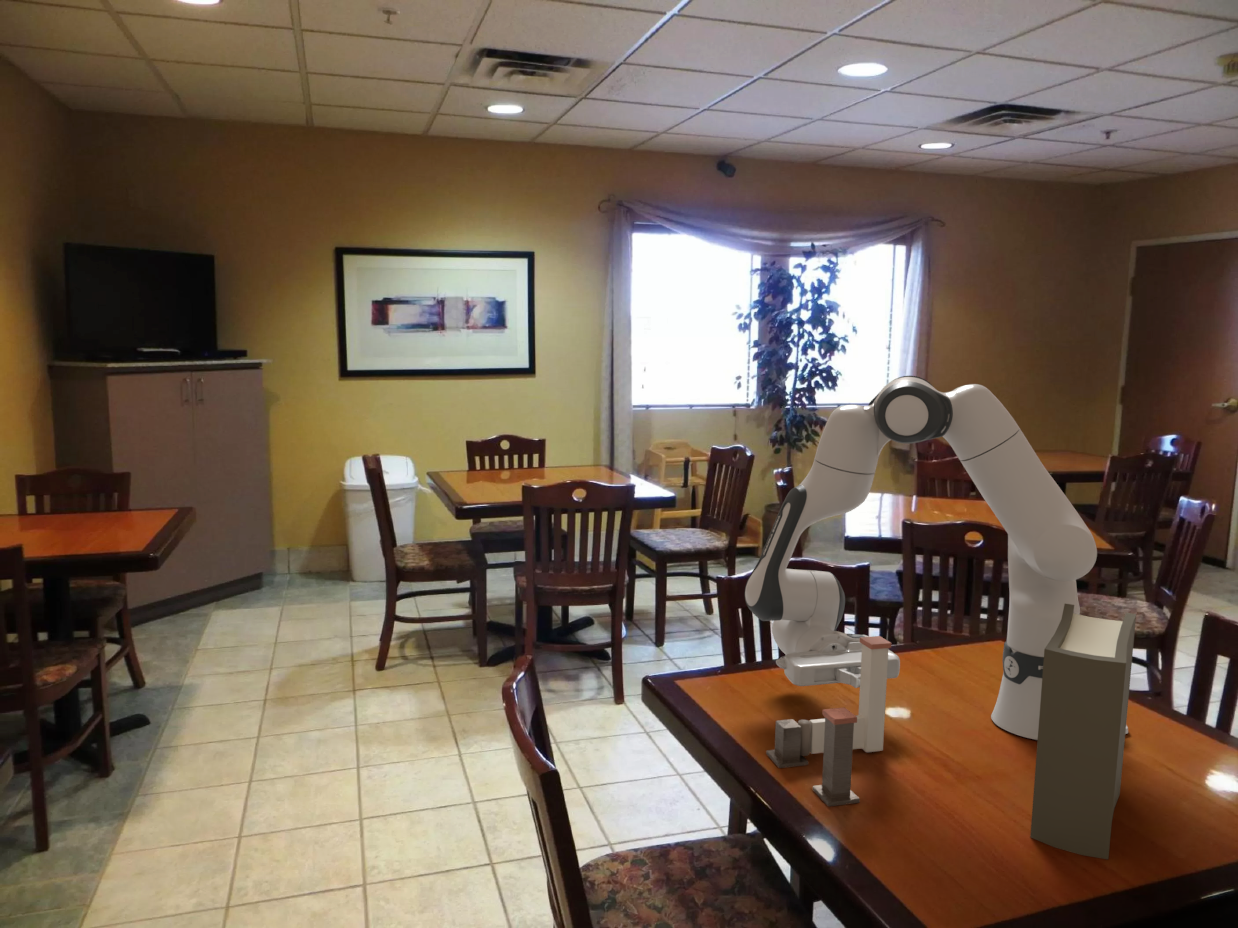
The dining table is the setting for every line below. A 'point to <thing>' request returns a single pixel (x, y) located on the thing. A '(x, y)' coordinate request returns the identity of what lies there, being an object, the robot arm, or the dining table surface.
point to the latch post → (837, 758)
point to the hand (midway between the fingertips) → (864, 682)
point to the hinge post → (787, 745)
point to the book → (1082, 732)
